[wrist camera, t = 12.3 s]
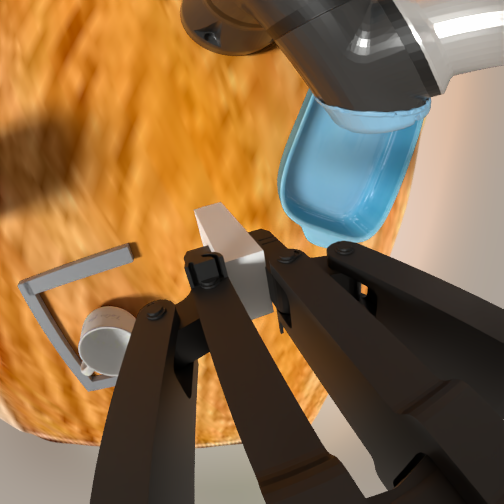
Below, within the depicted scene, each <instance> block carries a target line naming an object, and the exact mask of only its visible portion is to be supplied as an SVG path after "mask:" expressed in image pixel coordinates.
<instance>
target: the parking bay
mask: <svg viewBox="0 0 504 504" xmlns="http://www.w3.org/2000/svg"><path fill="white" fill-rule="evenodd" d="M133 259H134V257H133V255H132V252H131V249H130V246H129V244H128V243H127V244H124V245H121V246H118V247H115V248H111V249H108V250H105V251H102V252H100V253H97V254H94V255H91V256H88V257H85V258H82V259H79V260H76V261H73V262H71V263H68V264H65V265H62V266H59V267H57V268H54V269H51V270H48V271H46V272H43V273H40V274H37V275H35V276H32V277H29V278H27V279H24V280H22V281H20V282H19V284H18V285H17V286H18V288H19V290H20V291H21V293H22V295H23V297H24V299H25V301H26V302H27V304H28V306H29V308H30V309H31V311H32V313H33V315H34V316H35V318H36V319H37V321H38V323H39V324H40V326H41V328H42V329H43V331H44V332H45V334H46V335H47V337H48V338H49V340H50V341H51V343H52V344H53V346H54V347H55V349H56V350H57V352H58V353H59V354H60V356H61V357H62V359H63V360H64V361H65V363H66V364H67V365H68V367H69V368H70V369H71V371H72V372H73V373H74V374H75V376H76V377H77V378H78V380H79V381H80V382H81V383H82V384H83V386H84V387H85V388H86V389H87V391H88V392H89V391H94V390H98V389H103V388H108V387H112V386H115V385H116V381H117V378H118V376H107V375H104V374H102V375H98V376H93V377H92V375H90V376H86V375H84V374H83V373H82V372H81V364H82V362H81V360H80V359H79V358H78V356H77V355H76V353H75V352H74V350H73V349H72V347H71V346H70V344H69V343H68V341H67V340H66V338H65V337H64V335H63V334H62V332H61V330H60V329H59V327H58V326H57V324H56V322H55V321H54V319H53V317H52V316H51V314H50V312H49V311H48V309H47V307H46V305H45V304H44V302H43V300H42V298H41V296H40V294H39V293H40V292H43V291H46V290H49V289H52V288H55V287H58V286H61V285H64V284H67V283H70V282H73V281H76V280H79V279H82V278H85V277H88V276H91V275H94V274H97V273H100V272H103V271H106V270H109V269H112V268H115V267H119V266H122V265H125V264H128V263H131V262H133Z"/></svg>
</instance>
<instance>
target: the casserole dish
mask: <svg viewBox="0 0 504 504" xmlns="http://www.w3.org/2000/svg"><path fill="white" fill-rule="evenodd" d="M423 119H424V118H423ZM423 119H422V120H416V121H415V123H414V124H413V125H411V126H409V127H406V128H404V129H401V130H397V131H393V132H387V133H380V134H360V133H354V132H350V131H349V130H346V129H343V128H341V127H339V126H338V125H337V124H336V123H335V122H334V121H333V120H332V119H331V117H330V116H329V115H328V113H327V112H326V110H325V109H324V108H323V106H322V105H320V104H319V103H318V102H317V101H316V100H315V98H314V95H313V93H312V91H311V90H310V88H309V90H308V92H307V94H306V97H305V99H304V102H303V104H302V107H301V109H300V112H299V114H298V116H297V119H296V121H295V124H294V126H293V128H292V131H291V133H290V136H289V139H288V141H287V144H286V146H285V149H284V152H283V155H282V159H281V162H280V167H279V171H278V178H277V186H278V194H279V198H280V201H281V205H282V207H283V210H284V211H285V213H286V214H287V215H288V217H289V218H290V219H292V220H293V221H294V222H296V223H297V224H299V225H300V226H301V227H302V230H303V232H304V235H305V237H306V238H307V240H308V241H309V242H311V243H312V244H314V245H317V246H320V247H324V248H328V246H330V245H331V244H333V243H335V242H338V241H351V242H355V243H357V242H363V241H366V240H368V239H370V238H371V237H372V236H374V235H375V234H376V232H377V231H378V230H379V229H380V228H381V226H382V225H383V223H384V221H385V220H386V218H387V216H388V214H389V212H390V210H391V208H392V206H393V203H394V201H395V199H396V197H397V194H398V192H399V189H400V187H401V184H402V182H403V179H404V177H405V174H406V171H407V168H408V166H409V163H410V160H411V157H412V155H413V152H414V149H415V146H416V143H417V140H418V137H419V133H420V130H421V127H422V123H423Z"/></svg>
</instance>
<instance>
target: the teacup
mask: <svg viewBox="0 0 504 504" xmlns="http://www.w3.org/2000/svg"><path fill="white" fill-rule="evenodd" d="M135 321H136V319H135V317H134V316H133V315H132V314H130V313H129V312H128V311H126V310H124V309H122V308H118V307H113V306H105V307H100V308H98V309H96V310H94V311H92V312H91V313H90V314H89V315H88V316H87V318H86V319H85V321H84V324H83V327H82V332H81V338H80V342H79V345H78V349H79V355H80V357H81V359H82V360H83V361H82V364H81V372H82V373H83V374H84V375H86V376H90V375H91V374H92V373H93V372H94V371H96V372H98V373H100V374H104V375H107V376H118V374H119V371H120V368H121V364H122V361H123V358H124V354H125V351H126V348H127V345H128V342H129V339H130V336H131V333H132V330H133V327H134V324H135Z"/></svg>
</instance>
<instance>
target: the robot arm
mask: <svg viewBox="0 0 504 504" xmlns="http://www.w3.org/2000/svg"><path fill="white" fill-rule="evenodd" d="M335 7H336V8H335ZM180 16H181V22H182V25H183V27H184V29H185V31H186V32H187V34H188V35H189V36H190V37H191V38H192V39H193V40H194V41H195V42H196V43H197V44H199V45H200V46H202V47H203V48H205V49H207V50H210V51H212V52H215V53H218V54H223V55H231V56H239V55H247V54H251V53H254V52H257V51H259V50H261V49H263V48H264V47H266V46H268V45H269V44H271V43H272V42H273V41H274V42H275V43H276V44H277V45H278V47H279V48H280V49H281V50H282V52H283V53H284V54H285V55H286V57H287V58H288V59H289V61H290V62H291V63H292V65H293V66H294V67H295V69H296V70H297V71H298V73H299V74H300V76H301V77H302V78H303V80H304V81H305V83H306V84H307V86H308V87H309V88H310V90H311V91H312V93H313V95H314V98H315V100H316V101H317V102H318V103H319V104H320V105H322V106H323V108H324V109H325V110H326V112H327V113H328V115H329V116H330V117H331V119H332V120H333V121H334V122H335V123H336V124H337V125H338V126H339V127H341V128H343V129H346V130H349V131H350V132H354V133H360V134H380V133H387V132H393V131H397V130H401V129H404V128H406V127H409V126H411V125H413V124H414V123H415V121H416V120H422V119H423V118H424V117H425V116H426V115H427V114H428V113H429V111H430V108H431V97H433V96H437V95H441V94H444V93H445V90H446V88H447V86H448V83H449V81H450V79H451V78H452V77H453V76H454V75H458V74H463V73H467V72H471V71H476V70H481V69H486V68H491V67H497V66H502V65H504V0H182V4H181V9H180ZM309 20H310V21H309ZM307 21H308V22H307ZM298 26H299V27H298ZM296 27H297V28H296ZM294 28H295V29H294ZM291 30H292V31H291ZM289 31H290V32H289ZM287 32H288V33H287ZM284 34H285V35H284ZM282 35H283V36H282ZM279 37H280V38H279ZM194 212H195V216H196V219H197V223H198V227H199V231H200V235H201V239H202V242H203V246H204V247H200V248H197V249H194V250H190V251H187V252H186V254H185V256H184V261H185V267H184V268H185V271H186V274H187V278H188V281H189V284H190V287H191V292H190V294H189V295H188V296H187V297H186V298H185V299H184V300H182V301H181V302H179V303H178V304H176V305H174V304H173V303H172V302H171V301H168V300H157V301H153V302H151V303H149V304H147V305H146V306H144V307H143V308H142V309H141V310H140V312H139V313H138V315H137V318H136V321H135V324H134V327H133V330H132V333H131V336H130V339H129V342H128V345H127V348H126V351H125V354H124V358H123V361H122V364H121V368H120V371H119V374H118V378H117V381H116V385H115V388H114V392H113V396H112V399H111V403H110V407H109V411H108V415H107V419H106V423H105V427H104V431H103V436H102V440H101V445H100V449H99V454H98V459H97V464H96V470H95V475H94V480H93V487H92V493H91V499H90V504H194V467H195V461H194V460H195V425H196V400H197V380H198V360H197V359H198V358H200V357H202V356H203V355H205V354H207V353H208V352H210V353H211V357H212V360H213V363H214V366H215V369H216V372H217V375H218V378H219V381H220V384H221V386H222V389H223V392H224V395H225V398H226V401H227V403H228V406H229V409H230V412H231V415H232V417H233V420H234V423H235V425H236V428H237V431H238V433H239V436H240V438H241V441H242V443H243V446H244V449H245V451H246V453H247V456H248V458H249V461H250V463H251V466H252V468H253V470H254V473H255V475H256V478H257V480H258V483H259V487H260V490H261V493H262V495H263V497H264V500H265V502H266V504H504V420H503V419H504V309H502V308H500V307H498V306H496V305H494V304H492V303H490V302H488V301H486V300H483V299H482V298H480V297H478V296H475V295H473V294H471V293H469V292H467V291H465V290H463V289H461V288H459V287H456V286H454V285H452V284H450V283H448V282H446V281H443V280H441V279H439V278H437V277H435V276H432V275H430V274H428V273H426V272H423V271H421V270H419V269H417V268H414V267H412V266H410V265H408V264H405V263H403V262H401V261H398V260H396V259H394V258H391V257H389V256H387V255H384V254H382V253H379V252H377V251H375V250H372V249H370V248H367V247H365V246H363V245H360V244H358V243H355V242H351V241H338V242H335V243H333V244H331V245H330V246H328V248H327V256H322V257H315V258H310V257H308V256H307V255H306V254H305V253H304V252H302V251H300V250H297V249H288V248H287V247H285V246H284V245H283V244H282V243H281V242H280V241H279V240H278V239H277V238H276V237H274V235H273V234H272V233H271V232H269V231H267V230H263V229H258V230H255V231H251V232H247V231H246V230H245V229H244V228H243V227H242V226H241V224H240V223H239V222H238V221H237V220H236V219H235V218H234V216H233V215H232V214H231V213H230V212H229V211H228V210H227V209H226V207H225V206H224V205H223V204H222V203H221V202H219V203H216V204H212V205H208V206H205V207H201V208H198V209H194ZM361 283H362V284H363V285H365V286H367V287H368V292H367V295H365V294H363V293H361ZM272 302H273V303H274V305H275V306H276V308H277V315H278V322H279V328H280V332H281V334H282V333H284V332H283V327H284V328H285V330H286V331H287V333H288V334H289V336H290V337H291V339H292V340H293V342H294V343H295V345H296V346H297V348H298V349H299V351H300V352H301V354H302V355H303V357H304V358H305V360H306V361H307V363H308V364H309V366H310V367H311V369H312V370H313V371H314V373H315V374H316V376H317V377H318V379H319V380H320V382H321V383H322V385H323V386H324V388H325V389H326V391H327V392H328V394H329V395H330V397H331V398H332V399H333V401H334V402H335V404H336V405H337V407H338V408H339V410H340V411H341V413H342V414H343V416H344V417H345V418H346V420H347V421H348V423H349V424H350V426H351V427H352V429H353V430H354V431H355V433H356V434H357V436H358V437H359V439H360V440H361V442H362V443H363V445H364V446H365V447H366V449H367V450H368V452H369V453H370V454H371V456H372V458H373V461H374V464H375V470H376V472H377V475H378V476H379V478H380V480H381V481H382V483H383V484H384V486H385V487H386V489H387V490H388V491H386V492H384V493H381V494H378V495H375V496H372V497H369V498H365V497H364V495H363V494H362V492H361V491H360V489H359V488H358V486H357V485H356V483H355V482H354V480H353V479H352V477H351V476H350V474H349V472H348V471H347V470H346V468H345V467H344V465H343V464H342V462H340V460H339V459H338V458H337V457H335V456H333V455H331V454H329V452H327V450H326V449H325V447H324V446H323V444H322V443H321V441H320V439H319V438H318V436H317V434H316V433H315V431H314V429H313V428H312V426H311V424H310V423H309V421H308V419H307V417H306V416H305V414H304V412H303V411H302V409H301V407H300V406H299V404H298V402H297V400H296V399H295V397H294V395H293V393H292V392H291V390H290V388H289V387H288V385H287V383H286V381H285V380H284V378H283V376H282V374H281V372H280V371H279V369H278V367H277V365H276V364H275V362H274V360H273V358H272V357H271V355H270V353H269V351H268V349H267V348H266V346H265V344H264V342H263V340H262V339H261V337H260V335H259V333H258V331H257V329H256V328H255V326H254V324H253V322H252V319H255V318H258V317H261V316H264V315H267V314H269V313H272V312H273V305H272Z"/></svg>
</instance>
